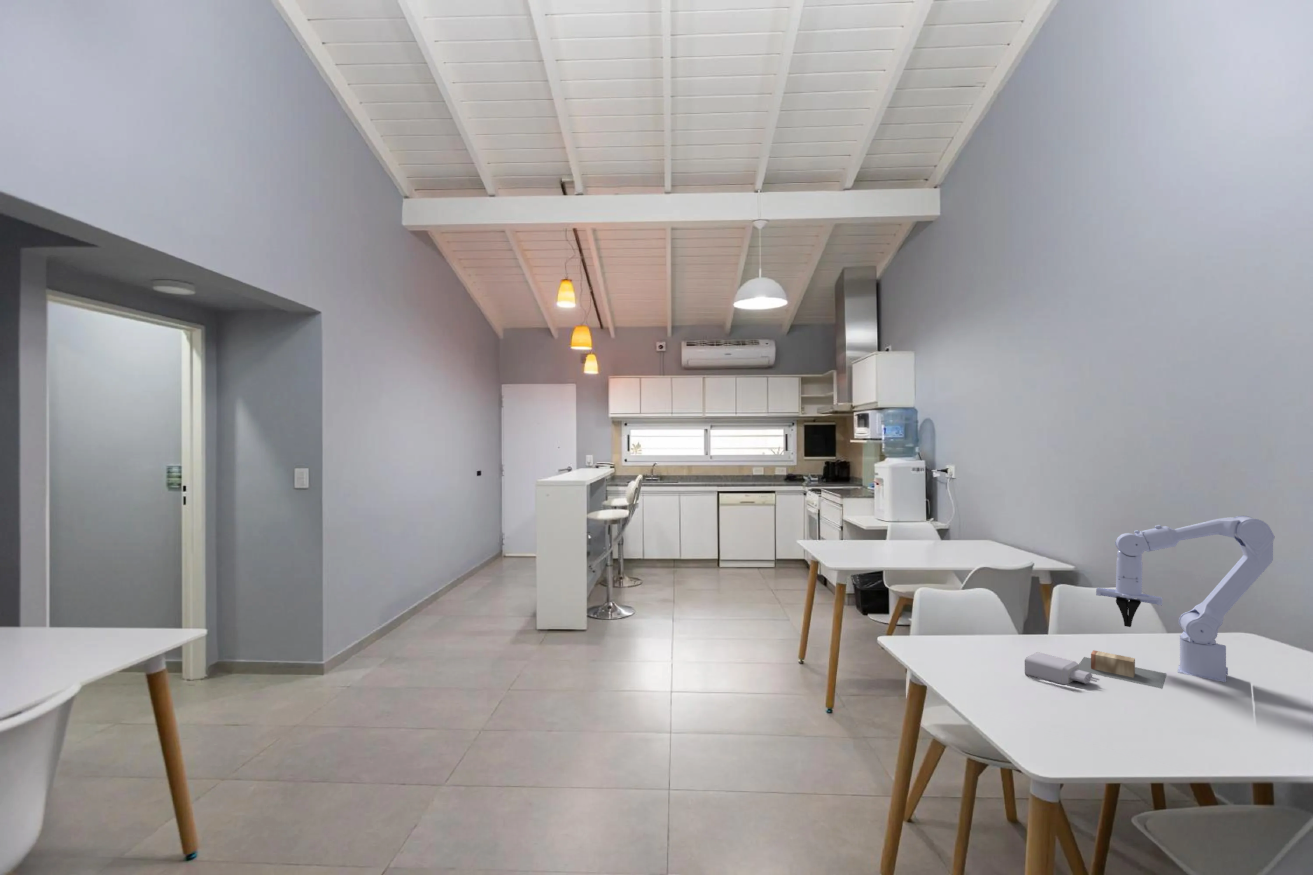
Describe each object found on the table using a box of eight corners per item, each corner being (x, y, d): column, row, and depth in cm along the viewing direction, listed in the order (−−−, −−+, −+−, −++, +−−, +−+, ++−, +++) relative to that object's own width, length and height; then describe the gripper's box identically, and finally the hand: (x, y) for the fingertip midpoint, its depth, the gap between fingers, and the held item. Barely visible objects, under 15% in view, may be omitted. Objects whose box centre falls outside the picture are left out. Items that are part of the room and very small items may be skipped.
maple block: (1135, 658, 161) (1093, 650, 167) (1133, 661, 158) (1090, 653, 164) (1135, 673, 161) (1093, 664, 167) (1133, 677, 158) (1091, 668, 164)
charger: (1091, 694, 149) (1024, 675, 161) (1104, 685, 154) (1039, 668, 166) (1091, 675, 149) (1024, 657, 161) (1104, 667, 154) (1039, 650, 166)
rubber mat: (1166, 675, 161) (1166, 673, 161) (1162, 690, 151) (1162, 688, 151) (1084, 658, 174) (1084, 656, 174) (1074, 671, 163) (1074, 669, 163)
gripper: (1094, 574, 172) (1093, 622, 172) (1161, 583, 162) (1160, 635, 162) (1098, 571, 177) (1097, 617, 177) (1163, 579, 167) (1162, 629, 167)
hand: (1127, 625), depth 170 cm, fingers closed
